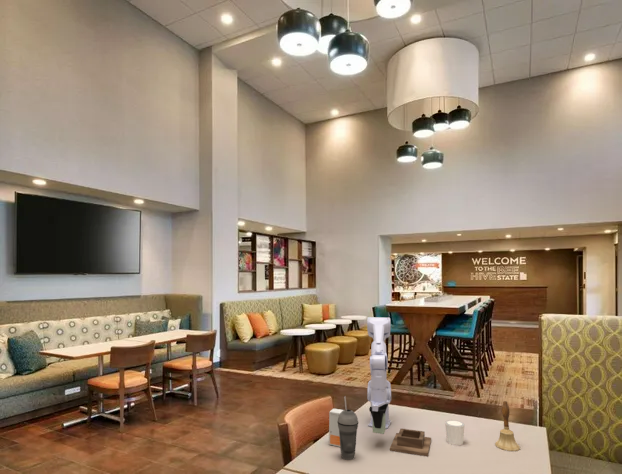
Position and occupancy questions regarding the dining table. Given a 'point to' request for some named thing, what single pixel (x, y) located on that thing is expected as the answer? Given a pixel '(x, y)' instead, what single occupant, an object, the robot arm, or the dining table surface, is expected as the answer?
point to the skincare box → (334, 427)
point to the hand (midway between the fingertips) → (379, 425)
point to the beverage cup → (347, 432)
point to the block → (383, 426)
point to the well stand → (411, 442)
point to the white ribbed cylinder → (454, 432)
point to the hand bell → (506, 433)
